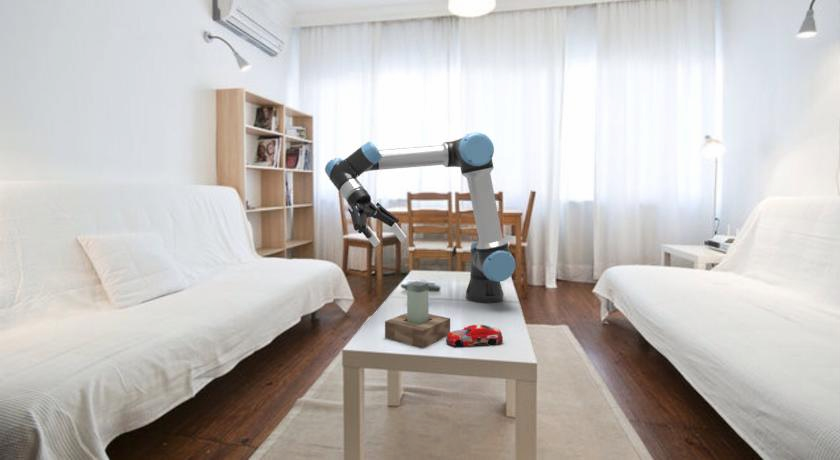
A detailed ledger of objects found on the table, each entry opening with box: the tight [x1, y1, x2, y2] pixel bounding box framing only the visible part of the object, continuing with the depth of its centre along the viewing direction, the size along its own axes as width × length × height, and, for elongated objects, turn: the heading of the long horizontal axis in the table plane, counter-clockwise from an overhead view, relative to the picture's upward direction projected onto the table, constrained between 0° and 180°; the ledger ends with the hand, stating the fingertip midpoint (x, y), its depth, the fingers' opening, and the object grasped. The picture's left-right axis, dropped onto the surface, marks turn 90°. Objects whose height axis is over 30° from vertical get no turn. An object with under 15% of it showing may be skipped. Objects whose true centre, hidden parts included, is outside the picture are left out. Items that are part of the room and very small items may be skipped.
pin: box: [406, 281, 429, 325], centre depth 126 cm, size 4×4×16 cm
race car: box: [445, 324, 504, 348], centre depth 121 cm, size 16×7×5 cm, turn 97°
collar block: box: [384, 312, 451, 349], centre depth 127 cm, size 14×14×5 cm
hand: (391, 242), depth 136 cm, fingers open, 13 cm apart
